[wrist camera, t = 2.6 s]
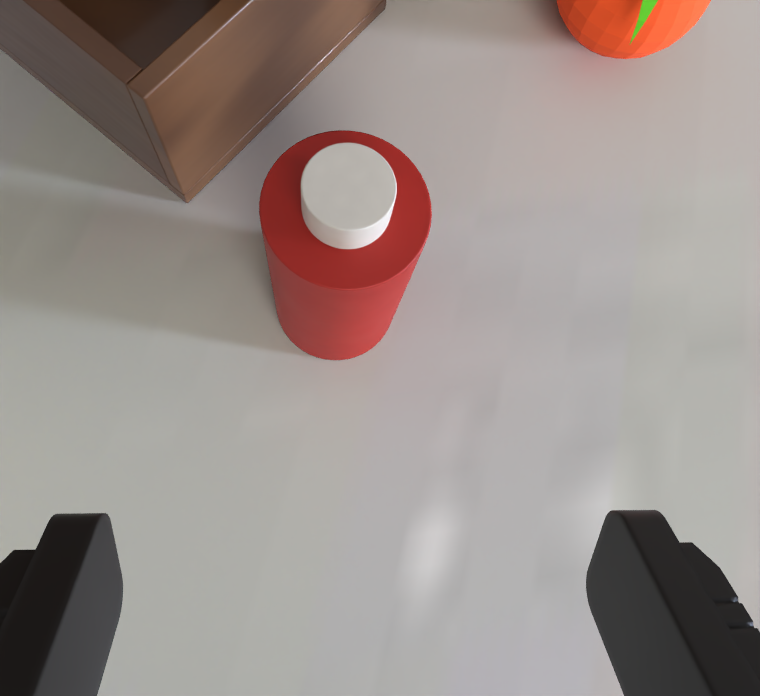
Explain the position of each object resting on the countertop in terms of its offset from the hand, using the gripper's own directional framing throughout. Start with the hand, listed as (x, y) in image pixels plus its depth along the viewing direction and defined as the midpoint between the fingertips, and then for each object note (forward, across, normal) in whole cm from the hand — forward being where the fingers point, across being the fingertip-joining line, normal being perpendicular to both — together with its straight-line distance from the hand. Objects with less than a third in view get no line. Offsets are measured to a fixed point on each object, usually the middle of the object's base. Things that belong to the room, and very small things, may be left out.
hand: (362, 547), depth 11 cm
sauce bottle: (+18, 0, +5) cm, 19 cm away
